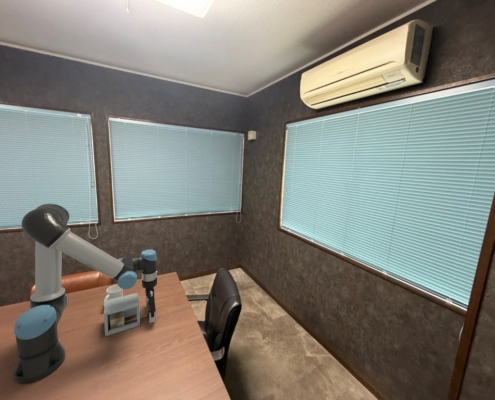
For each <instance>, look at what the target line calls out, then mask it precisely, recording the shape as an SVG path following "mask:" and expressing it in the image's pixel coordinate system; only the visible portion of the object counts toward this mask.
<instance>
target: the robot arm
mask: <svg viewBox="0 0 495 400" xmlns="http://www.w3.org/2000/svg"><path fill="white" fill-rule="evenodd" d="M69 220H70V212H69V210H68V208H67V207H65V206H64V205H62V204H59V203H54V202H53V203H52V202H51V203H50V202H49V203H43V204H41V205H39V206H37V207H36V208H35V209H32V210H30V211H29V212H27V213H26V214H25V215H24V216H23V217H22V219H21V229H22V231H23V232H24V233H25V234H26V236H27V237H29V238H30V239H32V240H33V241H34V242H35V251H34V252H35V253H34V254H35V258H34V260H35V266H34V269H35V270H34V271H35V272H34V273H35V274H34V277H35V279H34V280H35V281H34V285H35V287H34V289H35V290H34V292H33V293H32V294H31V295H30V303H29V306H30V307H29V309H27V311H25V312H23V313H22V314H20V315H19V316H18V317H17V319H16V321H14V328H13V329H14V335H15V341H16V349H17V354H18V359H17V360H16V365H15V366H14V370H13V377H14V380H15V382H17V383H18V384H31V383H34V382H37V381H40V380H42V379H44V378H45V377H47V376H49V375H51V374H52V373H53V372H55V371H56V370H57V369H59V367H60V366H61V365H62V364H63V363H64V361H65V358H66V350H65V348H64V346H63V345H62V343H61V342H60V340H59V334H58V333H59V332H58V325H59V323H60V320H61V318H62V316H63V314H64V311H65V309H66V307H67V306H68V295H67V293H66V288H65V287H63V286H62V268H63V265H62V261H63V259H62V258H63V253H64V254H65V255H67V256H69V257H70V258H73V259H74V260H76V261H78V262H80V263H82V264H84V265H86V266H87V267H89V268H91V269H93V270H95V271H97V272H99V273H100V274H102V275H104V276H106V277H108V278H110V279H111V280H113V281H115V282H116V283H117V285H118V286H119V287H120V288H122V289H123V290H129V289H132V288H134V286H136V284H137V281H138V274H137V273H138V272H139V271H141V286H142V288H144V289H145V290H144V291H145V292H144V294H145V308H146V309H147V302H148V301H149V308H150V311H148V313H149V317H148V319H149V323H153V322H156V311H157V310H156V299H155V288H154V287H156V286H157V285H158V274H157V273H159V271H158V259H157V258H158V257H157V251H156V250H154V249H146V250H142V251H141V254H140V255H137V256H129V257H120V258H118V259H117V258H116V257H114V256H112V255H111V254H108V253H107V252H106V251H104V250H103V249H101V248H98V247H97V246H95V245H94V244H92V243H90V242H89V241H87V240H85V239H84V238H82V237H80V236H78V235H77V234H75V233H73V232H72V231H71V228H70V226H68V222H69Z"/></svg>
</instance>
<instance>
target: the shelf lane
mask: <svg viewBox="0 0 495 400" xmlns="http://www.w3.org/2000/svg"><path fill="white" fill-rule="evenodd" d="M120 311H124V319H125V318H130V317H133V316H136V318H137V320H136V321H135V322H130V323H128V324H124V326H121V327H118V328H114V329H111V328H110V329H109V325H110V314H113V313H117V312H120ZM140 317H141V313H140V299H139V295H138V292H136V293H132V294H128V295H127V294H126V295H123V297H118V298H114V299H110V300H106V301H105V303H104V306H103V318H104V319H103V321H104V322H103V323H104V335H105V337H107V336H110V335H114V334H117V333H120V332H123V331H126V330H130V329H133V328H137V327H140V326H141V319H140Z"/></svg>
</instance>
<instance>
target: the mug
mask: <svg viewBox="0 0 495 400" xmlns="http://www.w3.org/2000/svg"><path fill="white" fill-rule="evenodd" d="M105 291H106V292H105V293H106V294H105V295H106V296H105V297H104V298H103V299H104V300H103V307H104V303H105V301H106V300H110V299H114V298H118V297H123V296H124V289H122V288H120V287H119V286H118V284H114V285H111V286H109V287H107V289H106V290H105Z"/></svg>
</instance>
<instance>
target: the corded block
mask: <svg viewBox="0 0 495 400" xmlns="http://www.w3.org/2000/svg"><path fill="white" fill-rule="evenodd" d="M148 311H150V308H149V301H148V302H147V308H146V314H145V315H142V316H141V315H140V320H141V319H144V318H146V317H147V318H149V313H148ZM133 321H137V317H135V318H131V319H128V320H125V318H124V311H120V312H117V313H113V314H110V322H109V325H110V330H111V329H114V328H118V327H121V326H124V325H125V324H126V323H132V322H133Z"/></svg>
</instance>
